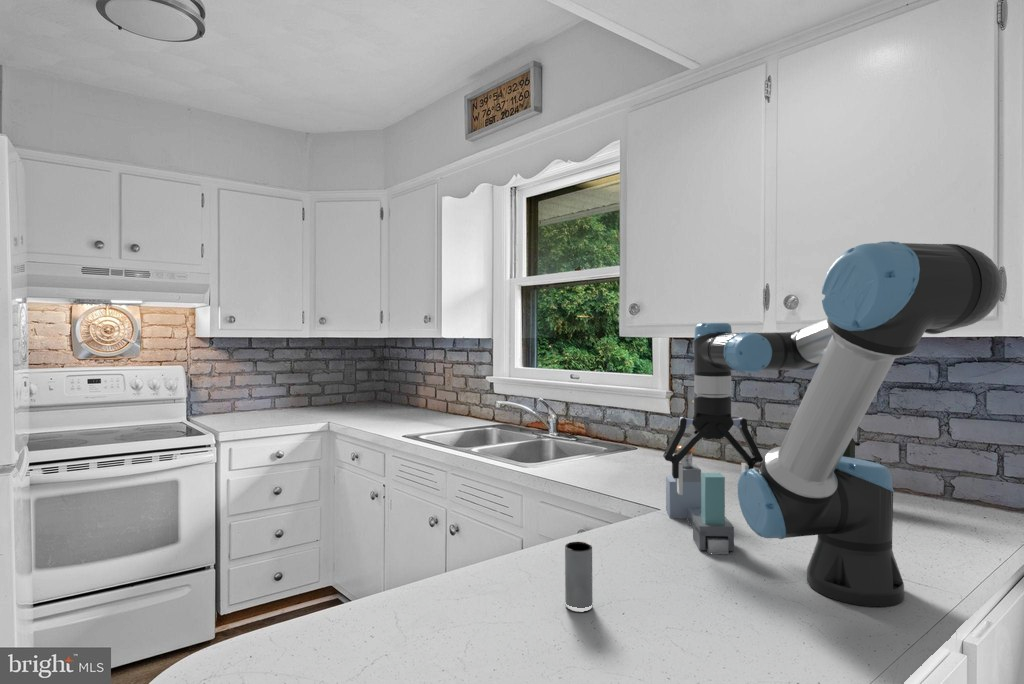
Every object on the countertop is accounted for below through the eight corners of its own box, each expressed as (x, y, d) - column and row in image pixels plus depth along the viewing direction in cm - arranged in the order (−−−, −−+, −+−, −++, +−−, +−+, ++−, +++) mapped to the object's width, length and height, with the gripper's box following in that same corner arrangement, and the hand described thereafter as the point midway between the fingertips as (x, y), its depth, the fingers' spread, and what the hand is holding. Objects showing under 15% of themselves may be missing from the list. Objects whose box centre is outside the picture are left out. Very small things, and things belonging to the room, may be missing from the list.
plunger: (696, 480, 150) (696, 448, 150) (678, 479, 151) (678, 448, 150) (693, 475, 155) (693, 445, 154) (675, 475, 155) (675, 444, 155)
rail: (728, 554, 126) (728, 540, 125) (708, 554, 126) (708, 539, 126) (704, 519, 148) (704, 507, 148) (687, 519, 149) (687, 507, 149)
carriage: (734, 550, 127) (733, 479, 127) (699, 550, 128) (699, 478, 127) (725, 539, 134) (725, 471, 134) (692, 538, 135) (692, 470, 134)
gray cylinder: (575, 598, 106) (574, 539, 106) (597, 605, 103) (597, 545, 103) (560, 607, 102) (559, 547, 102) (583, 615, 99) (582, 553, 99)
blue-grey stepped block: (707, 518, 149) (707, 470, 149) (669, 518, 150) (669, 469, 150) (702, 511, 155) (701, 464, 155) (666, 510, 156) (665, 464, 156)
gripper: (767, 393, 133) (766, 490, 133) (650, 392, 135) (650, 487, 136) (779, 397, 125) (778, 500, 126) (655, 396, 128) (655, 497, 128)
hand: (712, 493), depth 131 cm, fingers open, 13 cm apart
